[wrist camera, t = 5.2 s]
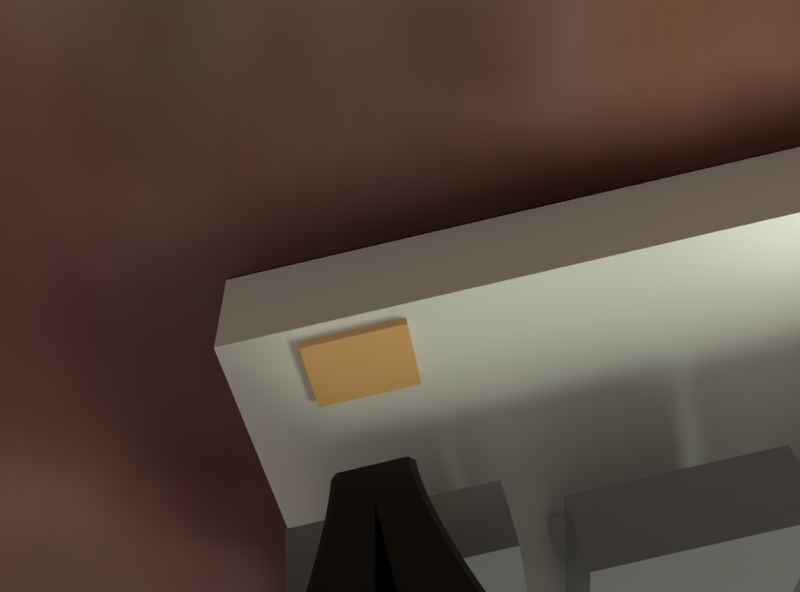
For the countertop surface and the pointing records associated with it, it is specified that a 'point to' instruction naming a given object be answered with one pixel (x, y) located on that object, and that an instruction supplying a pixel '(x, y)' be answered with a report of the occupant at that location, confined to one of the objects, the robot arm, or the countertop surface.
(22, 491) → the countertop surface
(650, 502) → the rocker middle
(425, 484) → the switch unit
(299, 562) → the rocker left
